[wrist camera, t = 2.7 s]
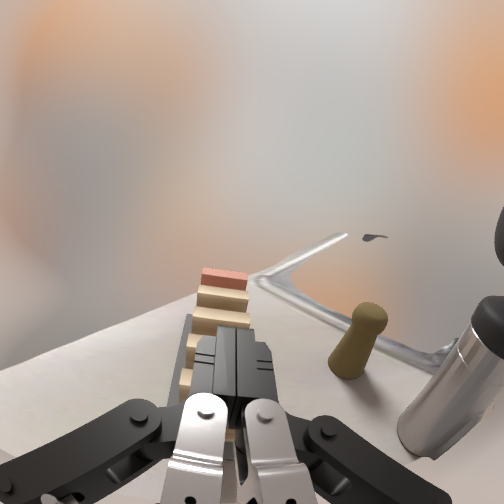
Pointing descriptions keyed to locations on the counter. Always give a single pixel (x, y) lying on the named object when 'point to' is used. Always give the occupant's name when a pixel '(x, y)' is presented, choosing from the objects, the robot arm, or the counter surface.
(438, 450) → the robot arm
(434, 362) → the counter surface
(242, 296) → the domino
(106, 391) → the counter surface
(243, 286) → the domino
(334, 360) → the cork
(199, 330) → the domino
